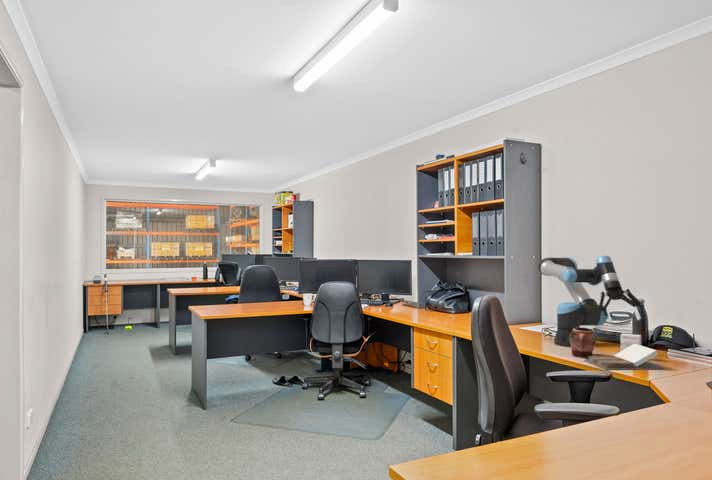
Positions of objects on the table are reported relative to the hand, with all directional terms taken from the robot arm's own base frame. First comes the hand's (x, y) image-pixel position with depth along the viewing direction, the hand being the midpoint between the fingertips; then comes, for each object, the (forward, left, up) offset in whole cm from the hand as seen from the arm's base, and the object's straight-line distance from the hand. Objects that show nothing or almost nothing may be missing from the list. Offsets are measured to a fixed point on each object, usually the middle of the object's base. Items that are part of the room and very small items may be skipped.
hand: (624, 320), depth 239 cm
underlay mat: (+17, -13, -18) cm, 28 cm away
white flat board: (+17, -6, -14) cm, 23 cm away
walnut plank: (+17, -19, -18) cm, 31 cm away
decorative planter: (0, -22, -18) cm, 28 cm away
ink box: (+4, 0, -18) cm, 19 cm away
